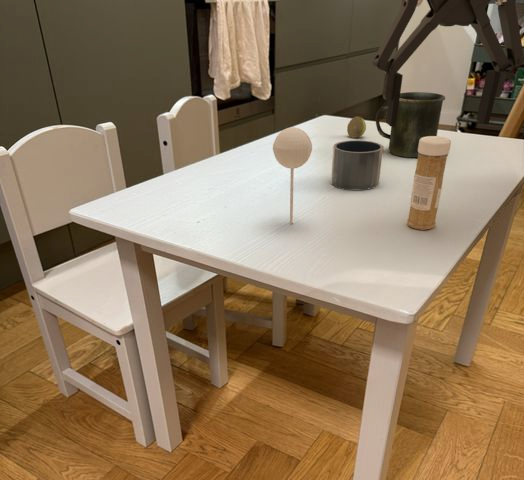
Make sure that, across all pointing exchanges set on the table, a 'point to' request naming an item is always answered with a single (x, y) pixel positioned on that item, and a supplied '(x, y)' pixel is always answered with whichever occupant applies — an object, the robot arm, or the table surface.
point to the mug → (413, 122)
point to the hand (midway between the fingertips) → (436, 123)
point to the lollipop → (292, 153)
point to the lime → (356, 127)
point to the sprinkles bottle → (428, 181)
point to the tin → (356, 164)
